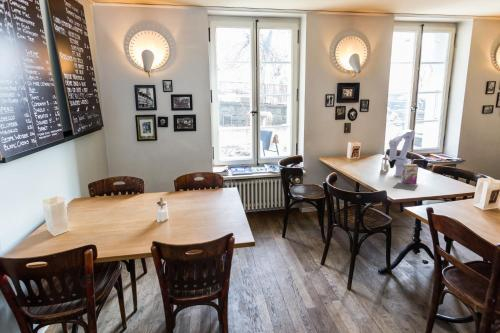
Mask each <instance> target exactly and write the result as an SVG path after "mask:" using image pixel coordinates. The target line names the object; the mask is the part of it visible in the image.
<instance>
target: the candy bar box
mask: <svg viewBox="0 0 500 333" xmlns="http://www.w3.org/2000/svg"><path fill="white" fill-rule="evenodd" d="M418 171H419V165H418V164H416V163H415V164H414V163H407V164H403V171H402V177H401V182H400V183H405V184H417V181H418Z"/></svg>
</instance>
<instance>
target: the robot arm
mask: <svg viewBox="0 0 500 333" xmlns="http://www.w3.org/2000/svg"><path fill="white" fill-rule="evenodd" d="M415 132H416V131H415V130H414V129H413V130H412V129H402V130H401V133H400V134H399V135H396V136H395V137H394V138H393V139H390V140H389V141H388V146H389V155H388V157H387V159H388V165H389V168H390V169H393V168H394V167H395V174H394V175H393V176H395V177H400V178H402V171H403V164H408V159H407V158H408V157H407V154H408V151H409V148H410V146H411V142H412V141H413V140H414V137H415ZM403 139H404V142H403V145H402V148H401V151H400V154H399V155H398V154H397V152H398V147H399V144H400V142H402V141H403Z"/></svg>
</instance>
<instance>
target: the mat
mask: <svg viewBox="0 0 500 333" xmlns="http://www.w3.org/2000/svg"><path fill="white" fill-rule="evenodd" d="M418 186H419V185H418V184H414V183H402V182H397V183H395V185H394V186H393V187H392V188H393V189H400V190H406V191H412V192H414V191H416V189H417V187H418Z"/></svg>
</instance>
